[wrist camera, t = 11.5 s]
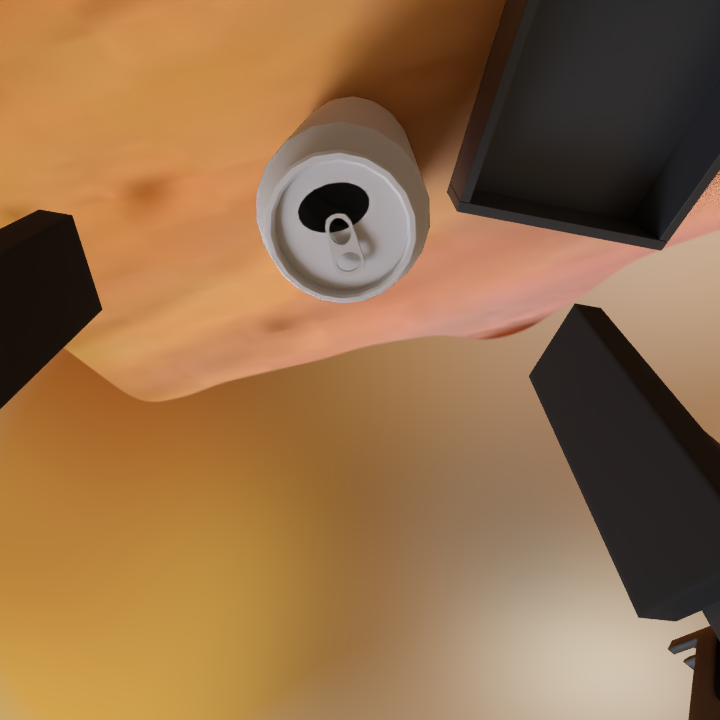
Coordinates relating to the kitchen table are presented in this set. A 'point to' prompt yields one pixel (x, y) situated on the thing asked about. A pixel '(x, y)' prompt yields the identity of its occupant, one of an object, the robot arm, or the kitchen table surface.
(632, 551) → the robot arm
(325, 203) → the can
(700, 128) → the bin
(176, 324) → the kitchen table surface
